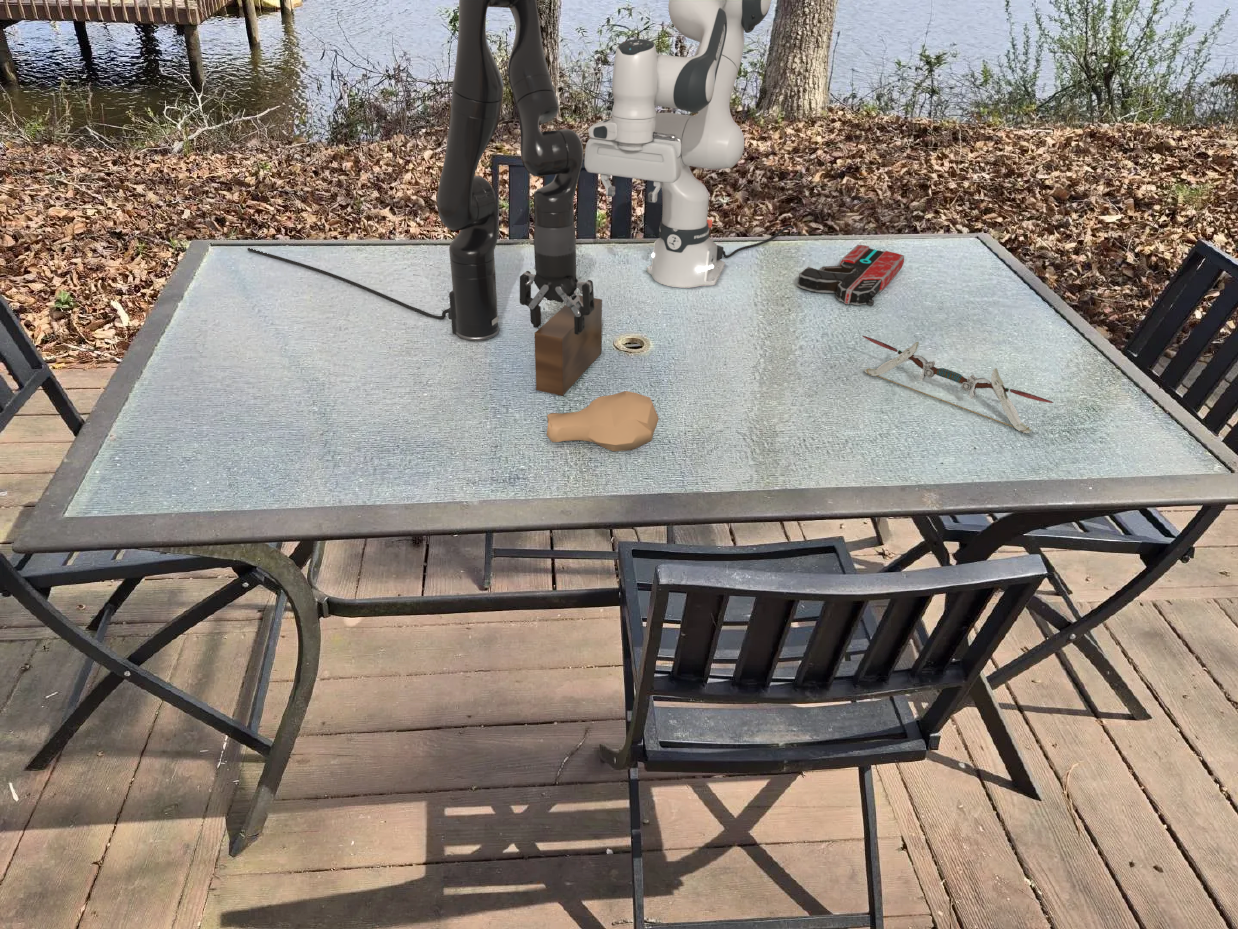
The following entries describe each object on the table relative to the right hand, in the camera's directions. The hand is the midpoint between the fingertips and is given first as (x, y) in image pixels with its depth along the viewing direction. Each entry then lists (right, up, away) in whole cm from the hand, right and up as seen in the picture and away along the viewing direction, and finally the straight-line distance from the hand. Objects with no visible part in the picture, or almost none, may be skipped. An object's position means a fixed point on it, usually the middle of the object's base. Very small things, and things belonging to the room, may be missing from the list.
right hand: (631, 198), depth 184 cm
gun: (+57, -9, +39) cm, 70 cm away
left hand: (-14, -30, -17) cm, 38 cm away
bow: (+61, -44, -12) cm, 76 cm away
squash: (-6, -52, -27) cm, 59 cm away
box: (-13, -37, -5) cm, 39 cm away
